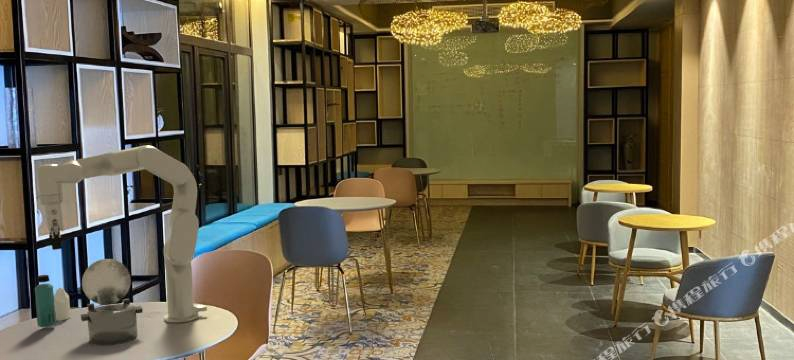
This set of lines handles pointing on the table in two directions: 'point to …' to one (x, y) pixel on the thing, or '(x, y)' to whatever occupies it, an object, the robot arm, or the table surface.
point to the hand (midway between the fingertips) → (56, 247)
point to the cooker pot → (112, 323)
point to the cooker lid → (106, 281)
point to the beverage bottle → (45, 303)
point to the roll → (62, 305)
